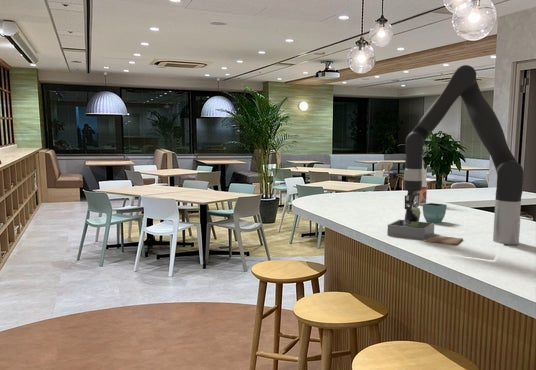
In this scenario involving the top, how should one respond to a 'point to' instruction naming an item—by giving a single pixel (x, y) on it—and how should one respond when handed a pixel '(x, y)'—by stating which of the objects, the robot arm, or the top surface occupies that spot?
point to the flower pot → (434, 212)
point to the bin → (411, 230)
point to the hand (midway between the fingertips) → (411, 217)
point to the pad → (444, 240)
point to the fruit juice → (423, 187)
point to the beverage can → (413, 218)
